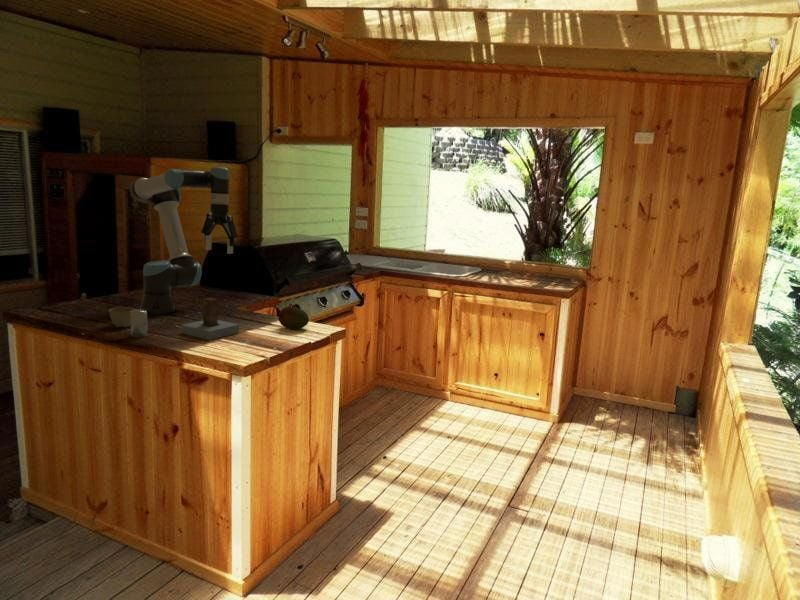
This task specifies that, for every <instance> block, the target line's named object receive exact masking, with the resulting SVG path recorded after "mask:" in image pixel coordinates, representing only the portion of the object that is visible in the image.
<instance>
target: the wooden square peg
mask: <svg viewBox="0 0 800 600" xmlns="http://www.w3.org/2000/svg"><path fill="white" fill-rule="evenodd" d="M202 301H203V302H202V308H203V309H202V311H203V312H202V320H203V326H207V327H213V326H218V320H219V319H218V317H219V315H218V312H219V311H218V310H219V309H218V308H219V307H218V305H219V304H218V303H219V302H218V301H219V299H218V298H213V297H207V298H203V299H202Z"/></svg>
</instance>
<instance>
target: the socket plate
mask: <svg viewBox="0 0 800 600" xmlns="http://www.w3.org/2000/svg"><path fill="white" fill-rule="evenodd" d="M180 326H181V334H183V335H187V336H190V337H196V338H200V339H203V340H209V341H211V340H215V339H219V338H223V337H227V336H231V335H236V334H240V333H239V332H240V324H238V323H233V322H229V321H223V320H221V319H218V326H213V327H207V326H203V319H202V320H199V321H193V322H189V323H184V324H181V325H180Z"/></svg>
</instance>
